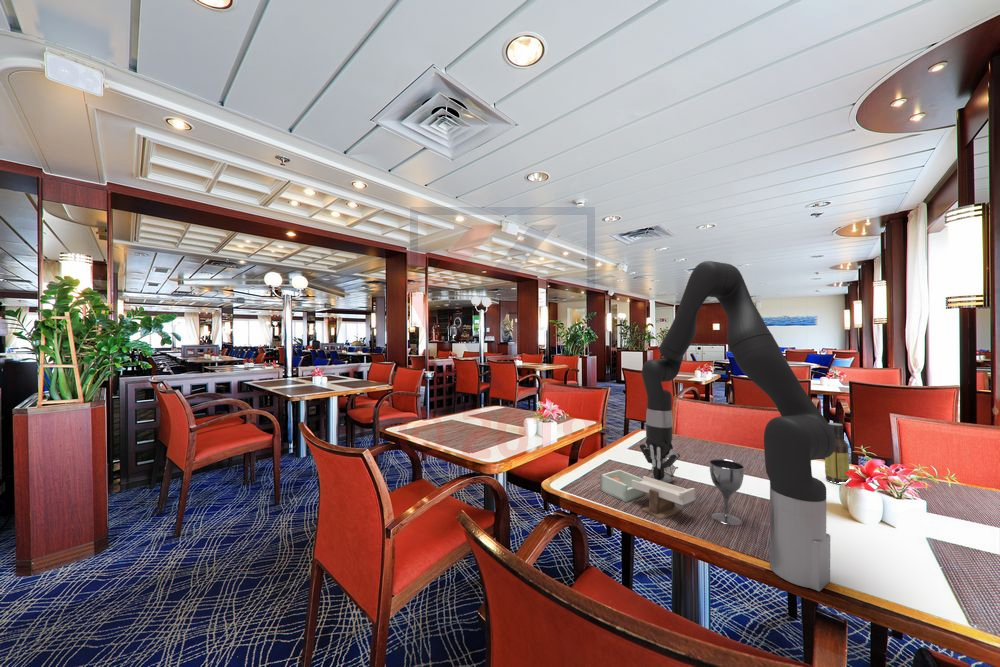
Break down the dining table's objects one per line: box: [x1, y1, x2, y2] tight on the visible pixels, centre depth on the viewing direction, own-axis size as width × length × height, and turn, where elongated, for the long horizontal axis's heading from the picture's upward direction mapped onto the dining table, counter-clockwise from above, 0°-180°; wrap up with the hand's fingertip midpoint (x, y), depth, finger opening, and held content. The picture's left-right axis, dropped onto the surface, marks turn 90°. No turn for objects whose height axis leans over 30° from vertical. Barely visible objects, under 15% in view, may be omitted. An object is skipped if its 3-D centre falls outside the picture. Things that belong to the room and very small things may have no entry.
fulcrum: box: [641, 489, 683, 521], centre depth 105 cm, size 6×10×6 cm, turn 122°
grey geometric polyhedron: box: [648, 458, 679, 478], centre depth 126 cm, size 9×8×10 cm
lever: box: [632, 475, 697, 510], centre depth 107 cm, size 16×14×4 cm
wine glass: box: [709, 458, 745, 526], centre depth 100 cm, size 8×8×15 cm
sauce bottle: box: [824, 422, 850, 483], centre depth 126 cm, size 6×6×20 cm
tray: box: [599, 469, 646, 503], centre depth 117 cm, size 10×9×5 cm
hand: (658, 478), depth 114 cm, fingers closed
